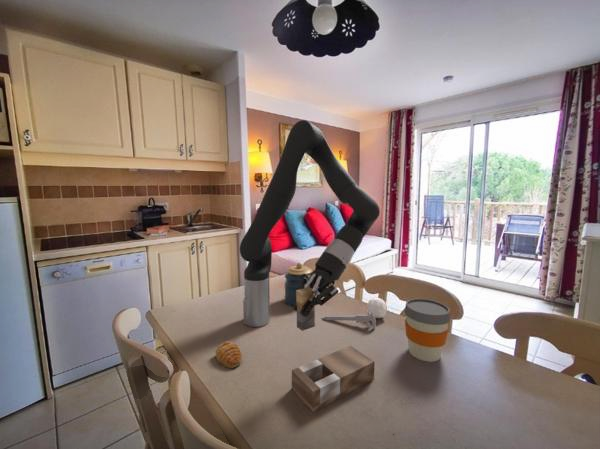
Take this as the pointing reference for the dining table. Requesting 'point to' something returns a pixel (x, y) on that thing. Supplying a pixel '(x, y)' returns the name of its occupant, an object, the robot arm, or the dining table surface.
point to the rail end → (301, 299)
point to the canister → (294, 281)
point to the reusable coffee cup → (426, 328)
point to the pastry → (229, 354)
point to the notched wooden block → (332, 377)
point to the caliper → (355, 318)
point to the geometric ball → (377, 307)
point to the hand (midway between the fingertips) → (299, 312)
